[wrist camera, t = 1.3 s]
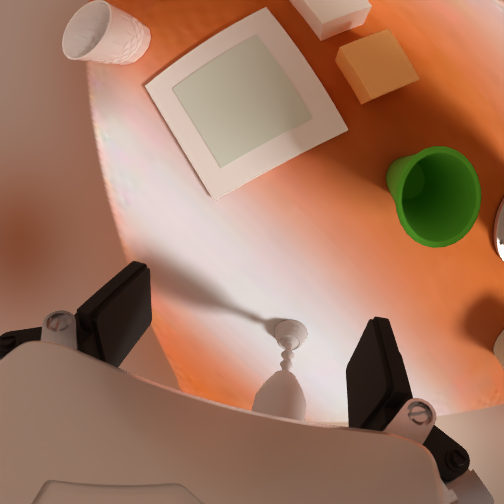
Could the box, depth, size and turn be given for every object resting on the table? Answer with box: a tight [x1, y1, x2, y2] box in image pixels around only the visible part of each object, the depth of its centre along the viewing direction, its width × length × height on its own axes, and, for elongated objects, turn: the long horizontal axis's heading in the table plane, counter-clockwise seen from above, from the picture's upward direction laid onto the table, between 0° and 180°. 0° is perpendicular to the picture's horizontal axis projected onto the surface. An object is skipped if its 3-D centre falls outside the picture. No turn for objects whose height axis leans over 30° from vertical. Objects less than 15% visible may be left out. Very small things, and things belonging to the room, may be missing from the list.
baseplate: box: [145, 7, 348, 201], centre depth 30 cm, size 18×18×1 cm
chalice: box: [252, 320, 308, 421], centre depth 34 cm, size 7×7×18 cm
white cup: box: [62, 0, 151, 65], centre depth 24 cm, size 8×8×10 cm
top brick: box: [335, 29, 420, 105], centre depth 23 cm, size 6×6×6 cm
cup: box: [386, 146, 481, 248], centre depth 25 cm, size 9×9×11 cm
